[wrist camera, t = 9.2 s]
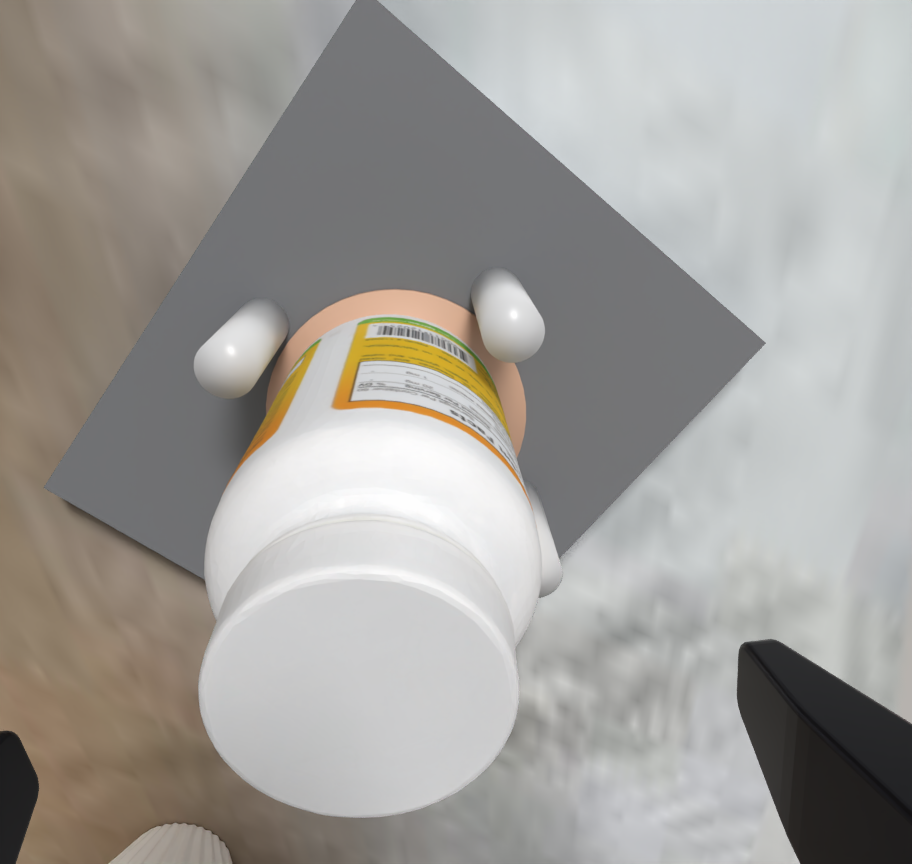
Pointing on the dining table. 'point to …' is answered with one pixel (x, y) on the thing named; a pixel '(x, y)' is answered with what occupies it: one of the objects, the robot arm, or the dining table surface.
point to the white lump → (175, 847)
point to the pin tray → (407, 301)
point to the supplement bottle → (371, 578)
